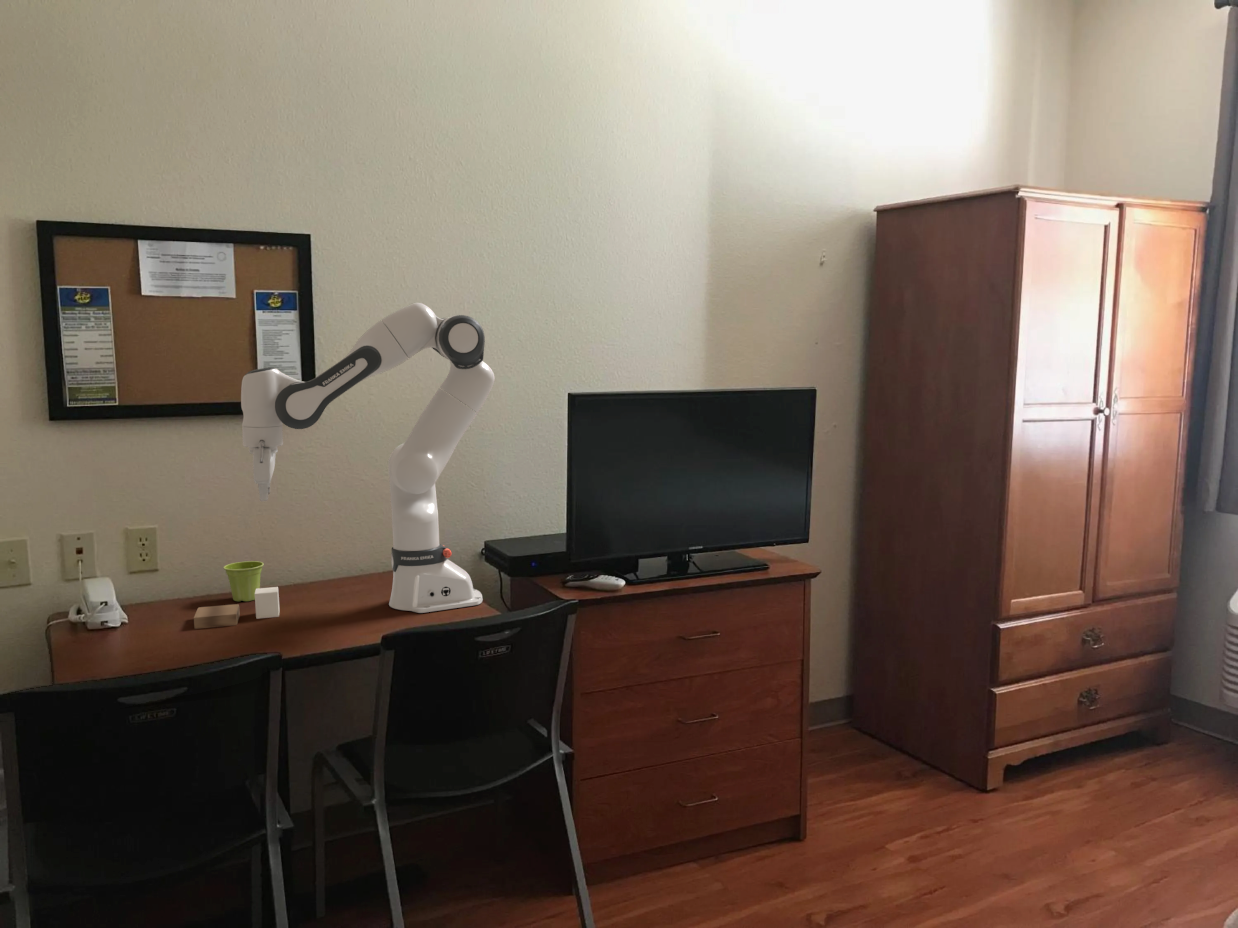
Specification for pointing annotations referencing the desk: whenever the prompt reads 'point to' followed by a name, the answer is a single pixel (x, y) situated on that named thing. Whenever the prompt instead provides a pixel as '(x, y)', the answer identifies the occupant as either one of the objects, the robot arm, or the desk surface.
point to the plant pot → (244, 579)
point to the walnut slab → (216, 616)
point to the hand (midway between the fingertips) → (265, 497)
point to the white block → (267, 602)
